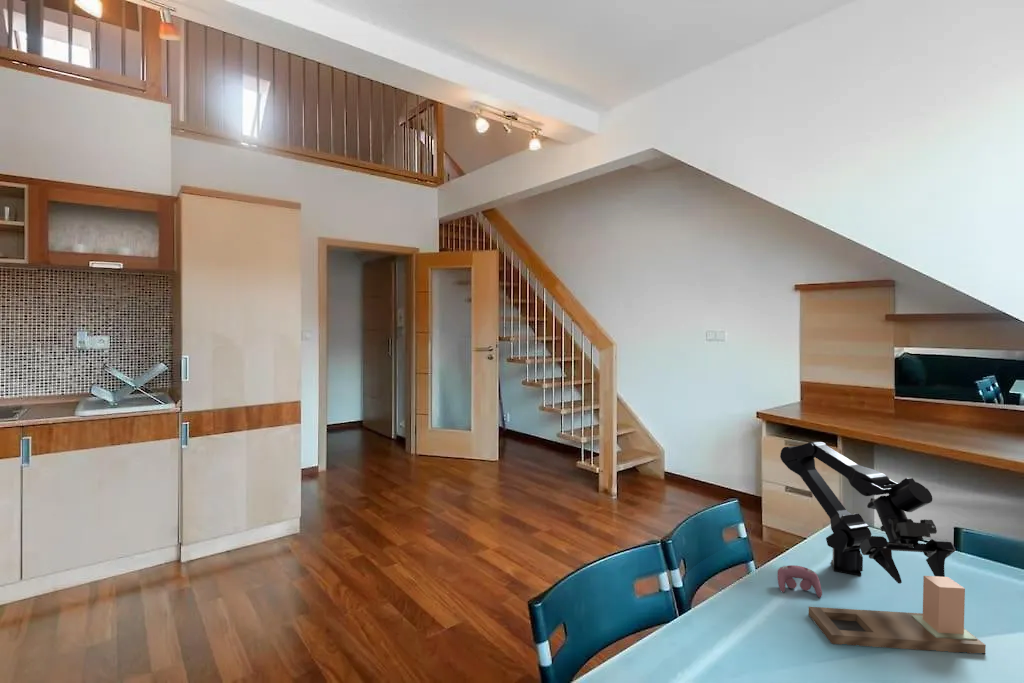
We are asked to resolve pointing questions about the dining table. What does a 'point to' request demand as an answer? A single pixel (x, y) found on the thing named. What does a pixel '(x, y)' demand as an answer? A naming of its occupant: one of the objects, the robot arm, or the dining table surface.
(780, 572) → the video game controller
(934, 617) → the block
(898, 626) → the board
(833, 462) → the robot arm
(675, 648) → the dining table surface
